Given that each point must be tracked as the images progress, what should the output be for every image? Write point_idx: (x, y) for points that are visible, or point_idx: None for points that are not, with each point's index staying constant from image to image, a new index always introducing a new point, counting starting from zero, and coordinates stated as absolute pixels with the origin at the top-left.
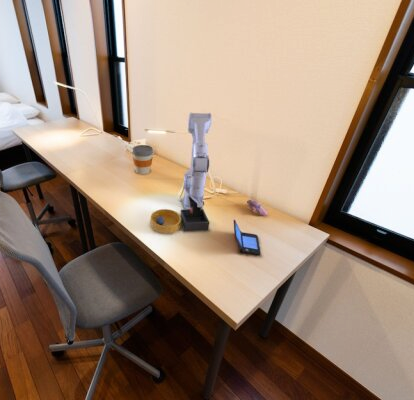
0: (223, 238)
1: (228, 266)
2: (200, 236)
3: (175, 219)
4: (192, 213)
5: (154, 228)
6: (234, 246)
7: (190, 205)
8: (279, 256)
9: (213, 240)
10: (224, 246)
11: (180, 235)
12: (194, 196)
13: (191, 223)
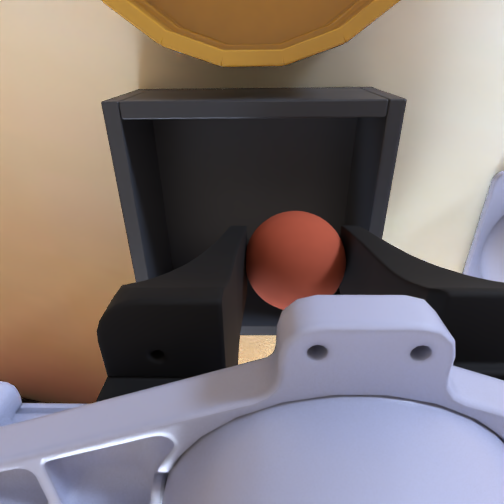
0: (92, 346)
1: None
2: (88, 215)
3: (330, 18)
4: (260, 225)
5: None
6: (28, 376)
7: (360, 243)
8: None
9: (58, 288)
10: (12, 331)
11: (70, 32)
12: (174, 486)
13: (117, 174)
